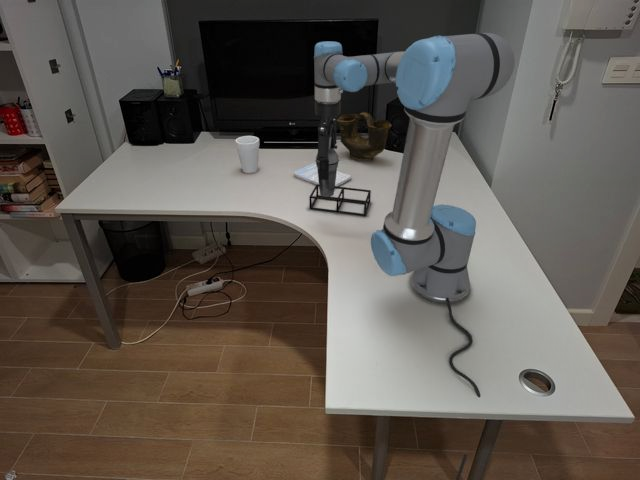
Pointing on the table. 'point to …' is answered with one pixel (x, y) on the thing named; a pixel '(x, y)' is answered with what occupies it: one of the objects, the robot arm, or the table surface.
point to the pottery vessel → (359, 144)
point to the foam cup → (248, 153)
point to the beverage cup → (329, 185)
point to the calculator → (311, 175)
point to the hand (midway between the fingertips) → (327, 173)
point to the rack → (340, 200)
